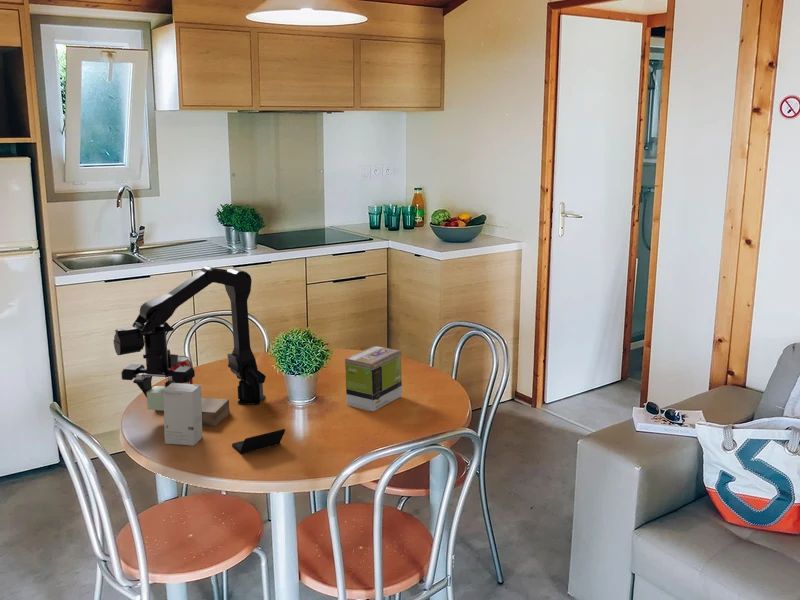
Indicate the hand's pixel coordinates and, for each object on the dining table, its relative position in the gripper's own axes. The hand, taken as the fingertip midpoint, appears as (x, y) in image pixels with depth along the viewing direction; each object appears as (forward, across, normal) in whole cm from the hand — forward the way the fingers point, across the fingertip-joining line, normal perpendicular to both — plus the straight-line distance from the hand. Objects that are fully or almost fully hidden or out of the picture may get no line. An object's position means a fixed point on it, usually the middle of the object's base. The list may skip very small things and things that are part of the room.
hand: (160, 403), depth 210 cm
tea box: (+6, -55, -24) cm, 60 cm away
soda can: (+6, +3, -19) cm, 20 cm away
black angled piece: (+6, -32, +12) cm, 35 cm away
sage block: (+1, 0, 0) cm, 1 cm away
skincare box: (+6, -12, +11) cm, 17 cm away
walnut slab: (+5, -11, -4) cm, 13 cm away
